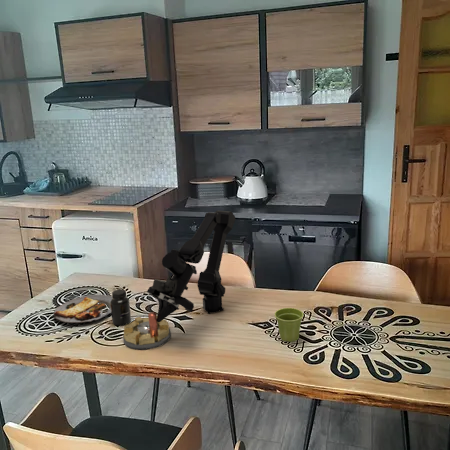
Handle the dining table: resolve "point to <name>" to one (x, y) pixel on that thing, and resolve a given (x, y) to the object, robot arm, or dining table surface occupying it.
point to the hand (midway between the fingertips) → (157, 321)
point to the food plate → (83, 309)
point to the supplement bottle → (120, 308)
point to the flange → (145, 329)
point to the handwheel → (155, 334)
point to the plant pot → (289, 323)
